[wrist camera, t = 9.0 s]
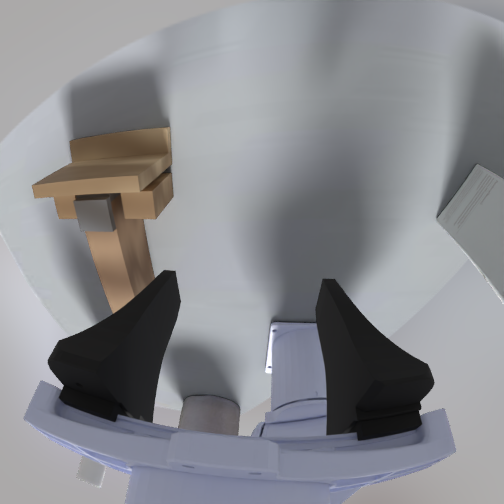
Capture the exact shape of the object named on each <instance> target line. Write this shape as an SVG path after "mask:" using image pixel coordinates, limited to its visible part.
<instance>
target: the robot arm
mask: <svg viewBox="0 0 504 504" xmlns="http://www.w3.org/2000/svg"><path fill="white" fill-rule="evenodd" d="M180 303H181V300H180V294H179V289H178V283H177V277H176V271H169V270H164V271H163V272H161V273H160V274H159V275H158V276H157V277H156V278H155V279H154V280H153V281H152V282H151V283H150V284H149V285H148V286H146V287H145V288H144V289H143V290H142V291H141V292H140V293H139V294H138V295H137V296H135V297H134V298H133V299H132V300H131V301H129V302H128V303H127V304H126V305H125V306H123V307H122V308H121V309H119V310H118V311H116V312H115V313H114V314H112V315H111V316H109V317H108V318H106V319H104V320H103V321H101V322H99V323H98V324H96V325H94V326H92V327H90V328H88V329H86V330H84V331H82V332H80V333H78V334H75V335H73V336H70V337H68V338H65V339H62V340H59V341H58V343H57V345H56V346H55V348H54V350H53V352H52V354H51V355H50V357H49V359H48V365H49V367H50V369H51V370H52V372H53V373H54V374H55V375H56V377H57V378H58V379H59V380H60V381H61V383H62V384H63V385H64V387H63V389H62V390H61V389H59V388H58V387H56V386H54V385H51V384H49V383H47V382H44V381H40V383H39V385H38V387H37V389H36V392H35V394H34V396H33V398H32V400H31V402H30V404H29V407H28V409H27V411H26V413H25V416H24V420H25V421H26V422H27V423H28V424H30V425H31V426H32V427H34V428H35V429H36V430H38V431H39V432H40V433H42V434H43V435H44V436H46V437H47V438H49V439H50V440H52V441H54V442H55V443H57V444H59V445H61V446H64V447H65V448H67V449H69V450H71V451H73V452H76V453H78V454H80V455H82V456H84V457H86V458H89V459H91V460H93V461H95V462H98V463H100V464H103V465H105V466H108V467H110V468H113V469H116V470H118V471H121V472H124V473H127V474H130V475H131V476H130V481H129V485H128V490H127V494H126V500H125V504H342V503H343V502H344V501H345V500H346V499H348V498H349V497H350V496H351V495H352V494H354V493H355V492H356V491H357V490H359V489H360V488H361V487H364V486H368V485H372V484H376V483H380V482H384V481H388V480H391V479H395V478H398V477H401V476H404V475H408V474H411V473H414V472H417V471H420V470H423V469H426V468H428V467H430V466H432V465H434V464H436V463H438V462H440V461H441V460H443V459H445V458H447V457H448V456H450V455H452V454H453V453H455V452H456V448H455V444H454V440H453V436H452V432H451V429H450V425H449V421H448V418H447V415H446V412H445V409H444V408H442V409H439V410H435V411H432V412H428V413H425V414H423V415H421V416H420V414H419V410H421V404H420V401H421V400H422V399H423V398H424V397H425V396H426V395H427V394H428V393H429V392H430V390H431V389H432V388H433V385H434V379H433V376H432V373H431V370H430V368H429V366H428V364H426V363H424V362H422V361H420V360H419V359H417V358H415V357H413V356H411V355H410V354H408V353H407V352H405V351H404V350H402V349H401V348H399V347H398V346H397V345H395V344H394V343H393V342H391V341H390V340H389V339H388V338H386V337H385V336H384V335H383V334H382V333H381V332H380V331H378V330H377V329H376V328H375V327H374V326H373V325H372V324H371V323H370V322H369V321H368V320H367V319H366V318H365V316H364V315H363V314H362V313H361V312H360V311H359V310H358V308H357V307H356V306H355V305H354V304H353V302H352V301H351V300H350V298H349V297H348V296H347V295H346V293H345V292H344V291H343V289H342V288H341V287H340V285H339V284H338V283H337V281H336V280H335V279H323V280H322V284H321V289H320V293H319V297H318V301H317V305H316V322H317V323H284V322H274V323H272V324H271V325H270V334H269V342H268V351H267V359H266V367H265V372H266V373H272V384H271V412H266V413H265V422H260V423H259V424H258V425H257V426H256V428H255V429H254V430H253V432H252V435H251V436H236V435H225V434H215V433H207V432H199V431H192V430H186V429H180V428H174V427H169V426H164V425H159V424H154V423H153V411H154V404H155V397H156V390H157V384H158V379H159V374H160V369H161V364H162V360H163V357H164V353H165V351H166V348H167V345H168V342H169V339H170V337H171V334H172V331H173V328H174V326H175V323H176V320H177V316H178V312H179V308H180ZM274 329H276V330H274Z"/></svg>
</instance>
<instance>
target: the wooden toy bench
mask: <svg viewBox="0 0 504 504" xmlns="http://www.w3.org/2000/svg"><path fill="white" fill-rule="evenodd" d="M70 149H71V156H72V163H70V164H68V165H67V166H65V167H63V168H61V169H59V170H57V171H56V172H54V173H52V174H50V175H49V176H47V177H45V178H44V179H42V180H40V181H39V182H37V183H35V184H34V185H32V188H33V193H34V197H35V198H45V197H54V201H55V205H56V209H57V213H58V217H59V219H77V215H76V211H75V207H74V203H73V201H74V200H75V199H77V195H85V194H104V193H121V198H122V204H123V210H124V215H125V219H156V218H157V217H158V216H159V215H160V213H161V212H162V211H163V209H164V208H165V207H166V206H167V204H168V203H169V202H170V201H171V199H172V198H173V186H172V174H171V173H162V172H163V171H164V170H166V169H167V168H168V167H169V166H170V165H172V156H171V138H170V127H164V128H152V129H141V130H132V131H124V132H117V133H110V134H103V135H97V136H91V137H85V138H80V139H75V140H72V141H70Z"/></svg>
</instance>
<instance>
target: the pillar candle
mask: <svg viewBox="0 0 504 504" xmlns="http://www.w3.org/2000/svg"><path fill="white" fill-rule="evenodd" d="M239 417H240V408H239V406H238V405H237V404H236V403H234V402H232V401H230V400H228V399H225V398H222V397H217V396H213V395H204V396H189V397H187V398H186V399H185V400H184V403H183V407H182V411H181V416H180V421H179V426H178V428H180V429H186V430H192V431H199V432H207V433H215V434H225V435H236V436H238V430H239Z"/></svg>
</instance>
